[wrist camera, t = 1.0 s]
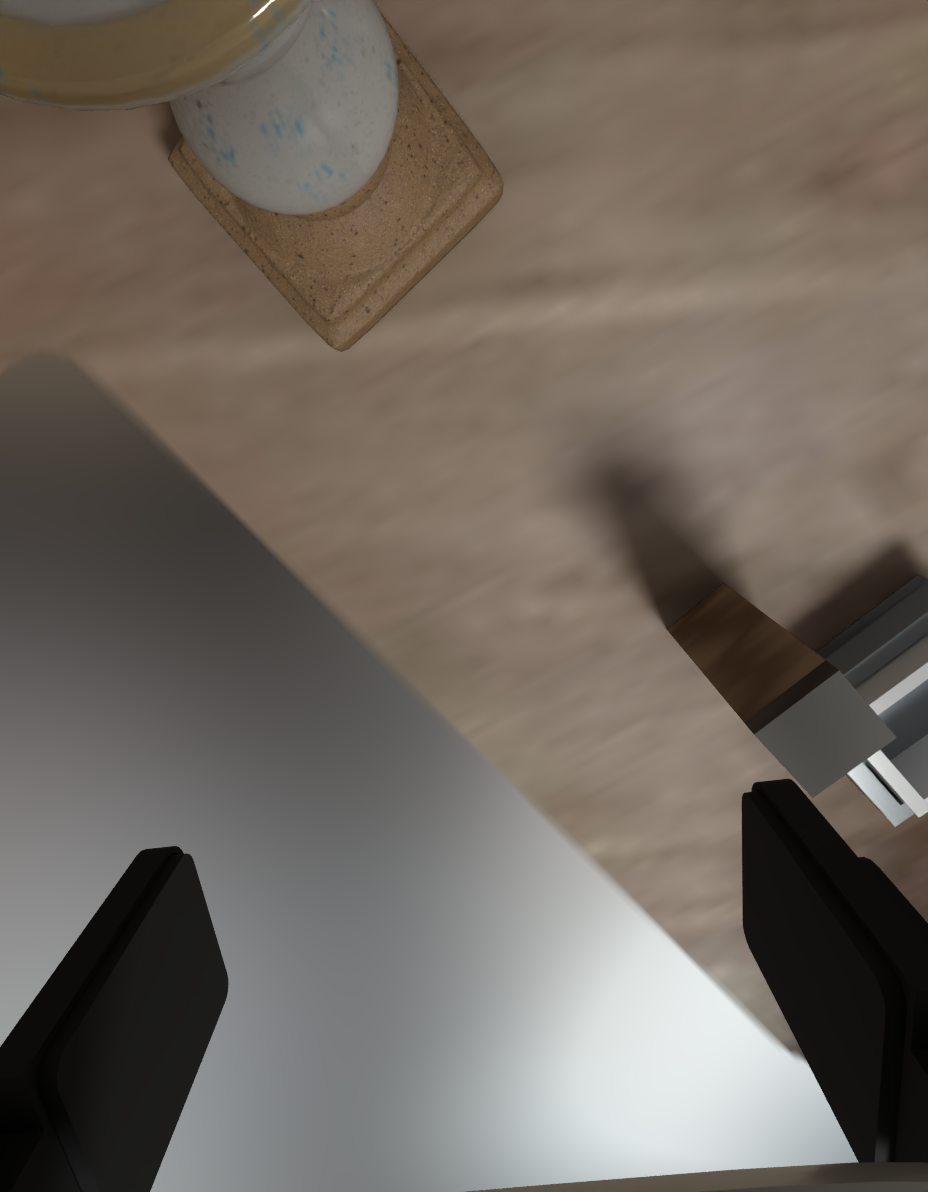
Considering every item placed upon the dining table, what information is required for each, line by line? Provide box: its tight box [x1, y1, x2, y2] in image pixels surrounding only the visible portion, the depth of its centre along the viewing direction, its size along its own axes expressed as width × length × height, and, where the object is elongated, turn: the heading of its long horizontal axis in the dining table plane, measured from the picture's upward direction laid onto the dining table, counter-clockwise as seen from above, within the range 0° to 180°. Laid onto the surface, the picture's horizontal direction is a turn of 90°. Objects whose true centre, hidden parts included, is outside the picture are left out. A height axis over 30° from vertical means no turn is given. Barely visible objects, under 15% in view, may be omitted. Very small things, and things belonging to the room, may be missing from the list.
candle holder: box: [0, 0, 504, 352], centre depth 20 cm, size 11×11×24 cm
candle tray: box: [816, 575, 928, 827], centre depth 37 cm, size 10×10×4 cm
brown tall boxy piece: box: [667, 583, 897, 797], centre depth 32 cm, size 4×4×12 cm
